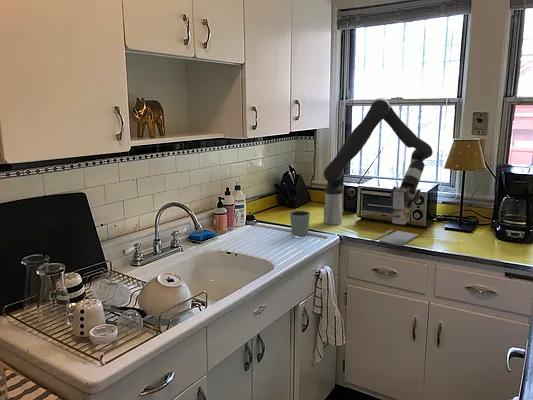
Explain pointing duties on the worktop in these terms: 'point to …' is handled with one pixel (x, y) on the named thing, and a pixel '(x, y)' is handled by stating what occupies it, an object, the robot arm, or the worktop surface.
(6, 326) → the worktop surface
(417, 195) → the robot arm
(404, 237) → the mat
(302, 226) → the grey green cup
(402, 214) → the coffee box
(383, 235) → the tan thin rod
